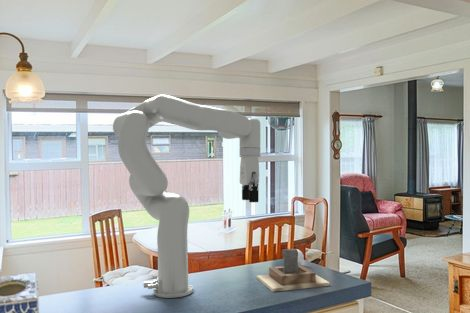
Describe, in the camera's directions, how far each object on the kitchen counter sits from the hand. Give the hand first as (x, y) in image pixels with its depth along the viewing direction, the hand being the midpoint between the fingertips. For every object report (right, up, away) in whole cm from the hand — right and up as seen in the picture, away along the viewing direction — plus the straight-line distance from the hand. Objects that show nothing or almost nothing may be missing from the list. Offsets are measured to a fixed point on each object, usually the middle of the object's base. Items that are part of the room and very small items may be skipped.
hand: (250, 201), depth 153 cm
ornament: (+18, -27, +15) cm, 36 cm away
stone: (+14, -26, -7) cm, 30 cm away
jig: (+14, -27, -7) cm, 31 cm away
